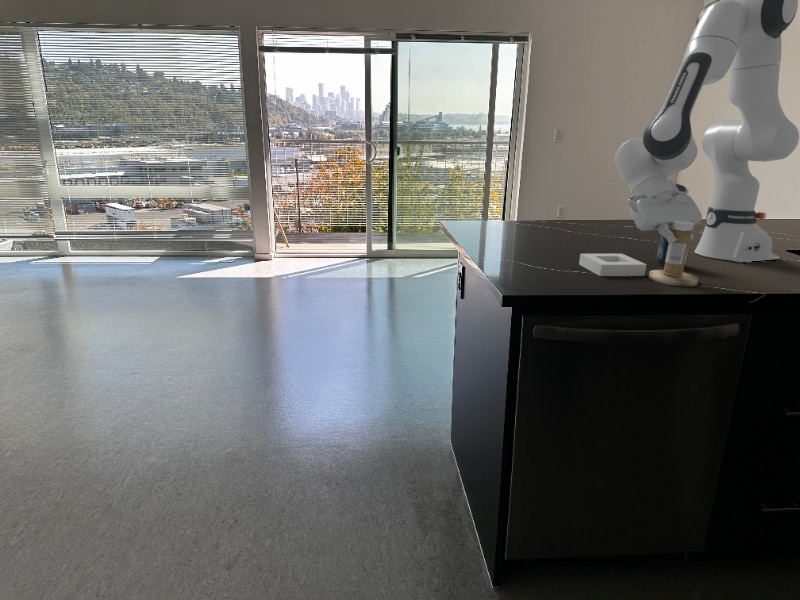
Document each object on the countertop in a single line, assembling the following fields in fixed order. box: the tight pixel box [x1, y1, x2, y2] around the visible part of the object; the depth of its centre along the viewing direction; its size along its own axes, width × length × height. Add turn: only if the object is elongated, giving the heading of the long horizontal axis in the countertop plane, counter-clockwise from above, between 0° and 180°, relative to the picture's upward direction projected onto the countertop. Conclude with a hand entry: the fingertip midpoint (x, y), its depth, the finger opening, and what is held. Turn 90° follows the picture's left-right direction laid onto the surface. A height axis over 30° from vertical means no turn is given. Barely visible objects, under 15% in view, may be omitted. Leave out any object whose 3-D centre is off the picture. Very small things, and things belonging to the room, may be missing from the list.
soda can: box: [656, 229, 672, 267], centre depth 140 cm, size 7×7×12 cm
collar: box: [578, 253, 647, 277], centre depth 134 cm, size 12×12×3 cm
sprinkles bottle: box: [663, 220, 695, 277], centre depth 124 cm, size 5×5×14 cm
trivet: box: [647, 269, 699, 287], centre depth 126 cm, size 11×11×1 cm
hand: (682, 241), depth 123 cm, fingers closed on sprinkles bottle, 4 cm apart
